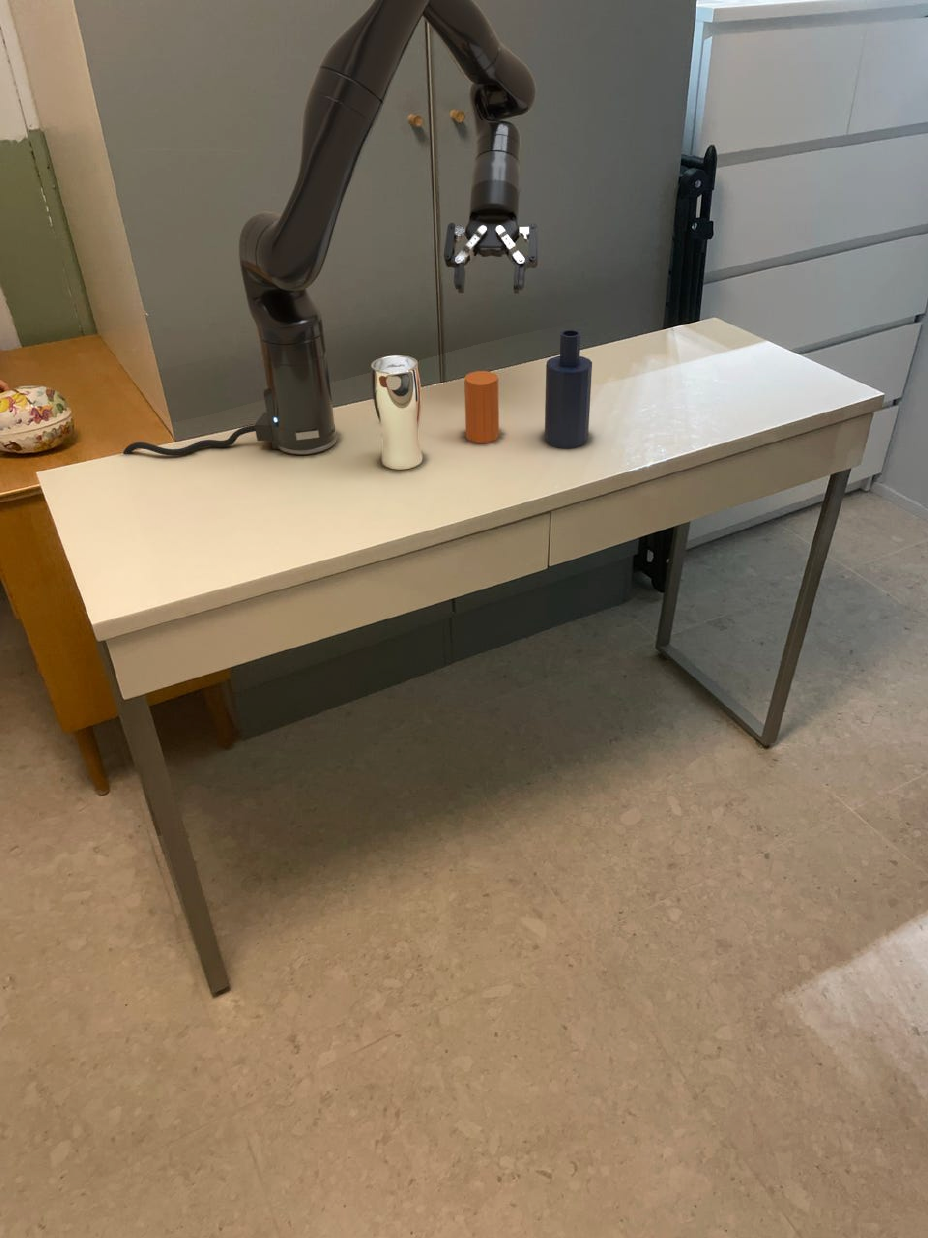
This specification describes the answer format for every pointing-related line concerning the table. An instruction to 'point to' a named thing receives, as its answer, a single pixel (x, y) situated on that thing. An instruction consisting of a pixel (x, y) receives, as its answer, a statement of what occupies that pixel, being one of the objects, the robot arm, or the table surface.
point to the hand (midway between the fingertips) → (488, 290)
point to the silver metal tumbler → (398, 409)
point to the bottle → (568, 394)
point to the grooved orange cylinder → (481, 406)
